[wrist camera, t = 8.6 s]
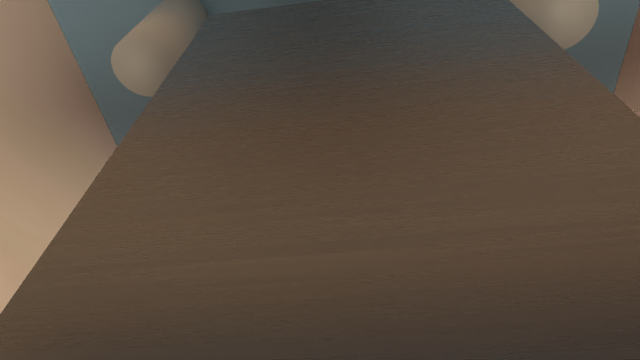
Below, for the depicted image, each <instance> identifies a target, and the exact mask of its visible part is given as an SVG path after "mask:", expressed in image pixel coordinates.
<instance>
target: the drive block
mask: <svg viewBox="0 0 640 360" xmlns="http://www.w3.org/2000/svg"><path fill="white" fill-rule="evenodd" d="M0 360H640V117H638V116H637V115H636V114H635V113H634V112H633V111H632V110H631V109H630V108H628V107H627V106H626V105H625V104H624V103H623V102H622V101H621V100H620V99H618V98H617V97H616V96H615V95H614V94H613V93H612V92H611V91H610V90H608V89H607V88H606V87H605V86H604V85H603V84H602V83H601V82H599V81H598V80H597V79H596V78H595V77H594V76H593V75H592V74H591V73H589V72H588V71H587V70H586V69H585V68H584V67H583V66H582V65H581V64H579V63H578V62H577V61H576V60H575V59H574V58H573V57H572V56H571V55H569V54H568V53H567V52H566V51H565V50H564V49H563V48H562V47H560V46H559V45H558V44H557V43H556V42H555V41H554V40H553V39H552V38H550V37H549V36H548V35H547V34H546V33H545V32H544V31H543V30H542V29H540V28H539V27H538V26H537V25H536V24H535V23H534V22H533V21H532V20H530V19H529V18H528V17H527V16H526V15H525V14H524V13H523V12H522V11H520V10H519V9H518V8H517V7H516V6H515V5H514V4H513V3H511V2H510V1H509V0H322V1H314V2H306V3H298V4H290V5H282V6H275V7H267V8H259V9H251V10H243V11H235V12H227V13H219V14H211V15H209V17H208V18H207V20H206V21H205V22H204V24H203V25H202V27H201V28H200V30H199V31H198V32H197V34H196V35H195V37H194V38H193V40H192V41H191V42H190V44H189V45H188V47H187V48H186V50H185V51H184V52H183V54H182V55H181V57H180V58H179V60H178V61H177V62H176V64H175V65H174V67H173V68H172V70H171V71H170V72H169V74H168V75H167V77H166V78H165V80H164V81H163V82H162V84H161V85H160V87H159V88H158V90H157V91H156V92H155V94H154V95H153V97H152V98H151V100H150V101H149V102H148V104H147V105H146V107H145V108H144V110H143V111H142V112H141V114H140V115H139V117H138V118H137V120H136V121H135V122H134V124H133V125H132V127H131V128H130V130H129V131H128V132H127V134H126V135H125V137H124V138H123V140H122V141H121V143H120V144H119V145H118V147H117V148H116V150H115V151H114V153H113V154H112V155H111V157H110V158H109V160H108V161H107V163H106V164H105V165H104V167H103V168H102V170H101V171H100V173H99V174H98V175H97V177H96V178H95V180H94V181H93V183H92V184H91V185H90V187H89V188H88V190H87V191H86V193H85V194H84V195H83V197H82V198H81V200H80V201H79V203H78V204H77V205H76V207H75V208H74V210H73V211H72V213H71V214H70V215H69V217H68V218H67V220H66V221H65V223H64V224H63V225H62V227H61V228H60V230H59V231H58V233H57V234H56V235H55V237H54V238H53V240H52V241H51V243H50V244H49V245H48V247H47V248H46V250H45V251H44V253H43V254H42V256H41V257H40V258H39V260H38V261H37V263H36V264H35V266H34V267H33V268H32V270H31V271H30V273H29V274H28V276H27V277H26V278H25V280H24V281H23V283H22V284H21V286H20V287H19V288H18V290H17V291H16V293H15V294H14V296H13V297H12V298H11V300H10V301H9V303H8V304H7V306H6V307H5V308H4V310H3V311H2V313H1V314H0Z"/></svg>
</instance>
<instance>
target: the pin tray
mask: <svg viewBox="0 0 640 360" xmlns="http://www.w3.org/2000/svg"><path fill="white" fill-rule="evenodd" d="M314 1H322V0H48V2H49V4H50V7H51V9H52V11H53V13H54V15H55V17H56V19H57V21H58V23H59V25H60V27H61V30H62V32H63V34H64V36H65V38H66V40H67V42H68V44H69V46H70V48H71V50H72V52H73V55H74V57H75V59H76V61H77V63H78V65H79V67H80V69H81V71H82V73H83V75H84V78H85V80H86V82H87V84H88V86H89V88H90V90H91V92H92V94H93V96H94V98H95V100H96V103H97V105H98V107H99V109H100V111H101V113H102V115H103V117H104V119H105V121H106V123H107V126H108V128H109V130H110V132H111V134H112V136H113V138H114V140H115V142H116V144H117V146H118V145H119V144H120V143H121V141H122V140H123V138H124V137H125V135H126V134H127V132H128V131H129V130H130V128H131V127H132V125H133V124H134V122H135V121H136V120H137V118H138V117H139V115H140V114H141V112H142V111H143V110H144V108H145V107H146V105H147V104H148V102H149V101H150V100H151V98H152V97H153V95H154V94H155V92H156V91H157V90H158V88H159V87H160V85H161V84H162V82H163V81H164V80H165V78H166V77H167V75H168V74H169V72H170V71H171V70H172V68H173V67H174V65H175V64H176V62H177V61H178V60H179V58H180V57H181V55H182V54H183V52H184V51H185V50H186V48H187V47H188V45H189V44H190V42H191V41H192V40H193V38H194V37H195V35H196V34H197V32H198V31H199V30H200V28H201V27H202V25H203V24H204V22H205V21H206V20H207V18H208V17H209V15H211V14H219V13H227V12H235V11H243V10H251V9H259V8H267V7H275V6H282V5H290V4H298V3H306V2H314ZM509 1H510V2H511V3H513V4H514V5H515V6H516V7H517V8H518V9H519V10H520V11H522V12H523V13H524V14H525V15H526V16H527V17H528V18H529V19H530V20H532V21H533V22H534V23H535V24H536V25H537V26H538V27H539V28H540V29H542V30H543V31H544V32H545V33H546V34H547V35H548V36H549V37H550V38H552V39H553V40H554V41H555V42H556V43H557V44H558V45H559V46H560V47H562V48H563V49H564V50H565V51H566V52H567V53H568V54H569V55H571V56H572V57H573V58H574V59H575V60H576V61H577V62H578V63H579V64H581V65H582V66H583V67H584V68H585V69H586V70H587V71H588V72H589V73H591V74H592V75H593V76H594V77H595V78H596V79H597V80H598V81H599V82H601V83H602V84H603V85H604V86H605V87H606V88H607V89H608V90H610V91H611V92H612V93H614V90H615V86H616V83H617V80H618V76H619V73H620V70H621V66H622V63H623V60H624V56H625V53H626V49H627V46H628V43H629V39H630V36H631V33H632V29H633V26H634V22H635V19H636V16H637V12H638V9H639V6H640V0H509Z"/></svg>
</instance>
